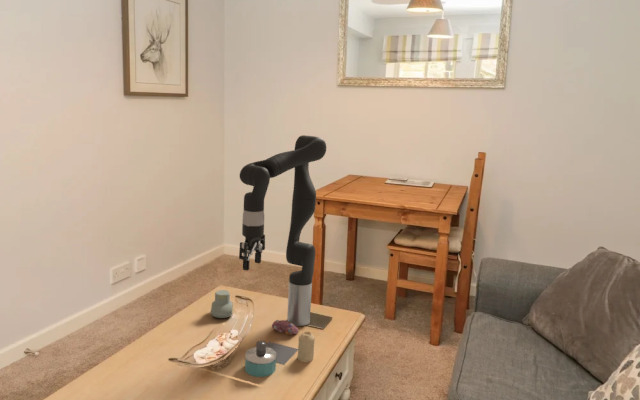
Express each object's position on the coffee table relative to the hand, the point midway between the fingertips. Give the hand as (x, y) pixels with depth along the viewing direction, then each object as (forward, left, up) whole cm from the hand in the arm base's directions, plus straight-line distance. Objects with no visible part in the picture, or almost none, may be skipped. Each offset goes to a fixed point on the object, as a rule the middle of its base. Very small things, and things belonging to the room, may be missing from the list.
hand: (252, 266), depth 185 cm
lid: (+14, +12, -25) cm, 31 cm away
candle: (+1, +23, -30) cm, 38 cm away
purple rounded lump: (-14, +8, -30) cm, 34 cm away
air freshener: (-16, -22, -30) cm, 41 cm away
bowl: (+14, +12, -30) cm, 35 cm away
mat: (+2, +12, -30) cm, 32 cm away
